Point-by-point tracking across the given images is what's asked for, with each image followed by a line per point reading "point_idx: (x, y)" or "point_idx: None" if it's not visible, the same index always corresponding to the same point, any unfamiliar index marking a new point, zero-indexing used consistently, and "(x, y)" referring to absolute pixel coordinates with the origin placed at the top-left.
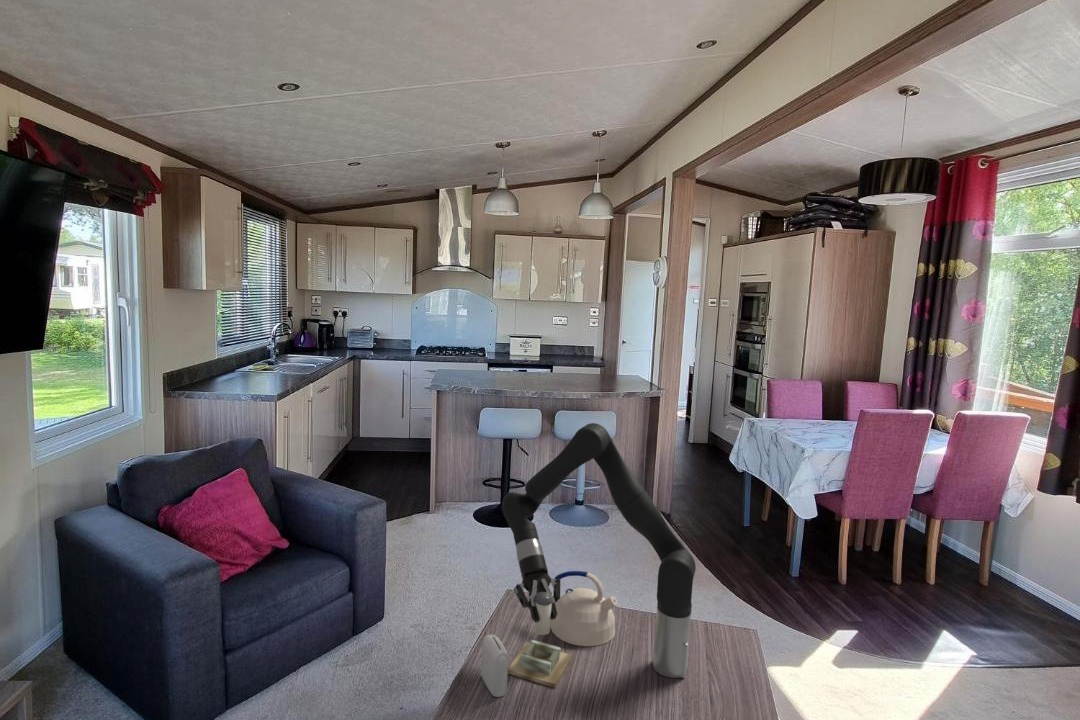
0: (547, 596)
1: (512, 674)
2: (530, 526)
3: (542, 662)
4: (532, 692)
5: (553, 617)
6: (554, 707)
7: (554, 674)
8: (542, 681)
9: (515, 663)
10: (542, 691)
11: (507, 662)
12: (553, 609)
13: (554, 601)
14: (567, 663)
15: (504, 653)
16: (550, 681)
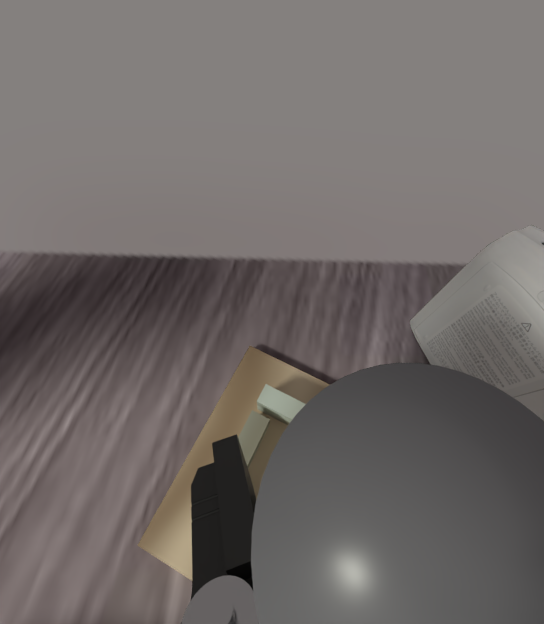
0: (359, 514)
1: None
2: None
3: (297, 400)
4: (326, 331)
5: (239, 445)
6: (264, 272)
7: (245, 400)
8: (293, 367)
9: None
10: (294, 335)
11: (466, 265)
12: (231, 492)
13: (194, 607)
14: (178, 473)
15: (510, 232)
16: (265, 360)
